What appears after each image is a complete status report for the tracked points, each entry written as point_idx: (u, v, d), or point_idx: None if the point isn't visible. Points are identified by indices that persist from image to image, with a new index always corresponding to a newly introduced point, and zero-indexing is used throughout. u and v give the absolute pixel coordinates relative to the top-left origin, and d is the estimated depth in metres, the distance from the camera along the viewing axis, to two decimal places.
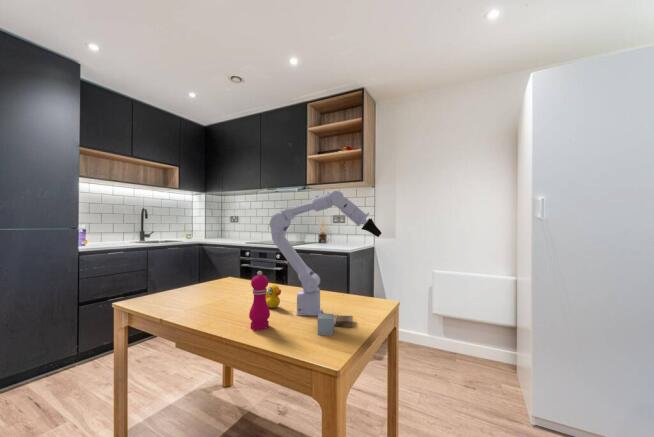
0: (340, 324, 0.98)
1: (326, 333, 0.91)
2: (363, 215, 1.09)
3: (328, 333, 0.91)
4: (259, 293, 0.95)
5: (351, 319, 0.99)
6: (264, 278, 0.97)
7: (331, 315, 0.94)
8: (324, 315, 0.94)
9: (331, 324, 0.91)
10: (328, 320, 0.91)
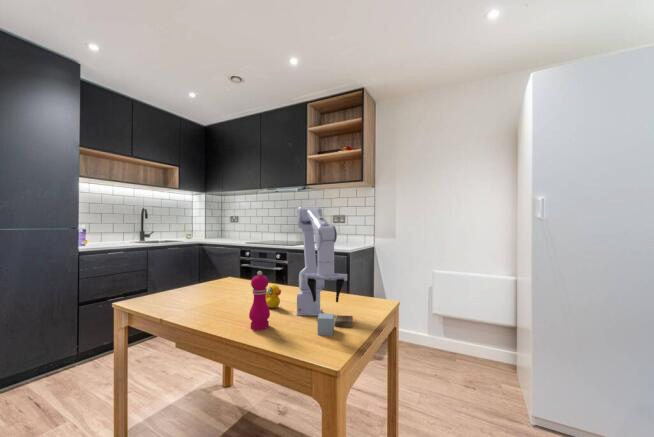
0: (340, 324, 0.98)
1: (326, 333, 0.91)
2: (318, 272, 0.92)
3: (328, 333, 0.91)
4: (259, 293, 0.95)
5: (351, 319, 0.99)
6: (264, 278, 0.97)
7: (331, 315, 0.94)
8: (324, 315, 0.94)
9: (331, 324, 0.91)
10: (328, 320, 0.91)
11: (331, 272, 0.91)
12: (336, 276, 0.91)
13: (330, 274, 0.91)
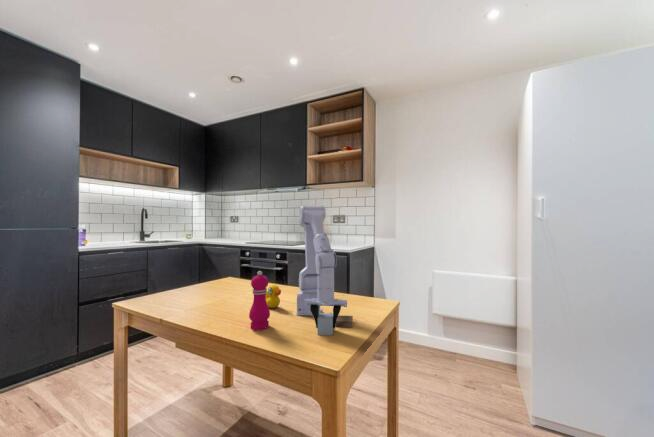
0: (340, 324, 0.98)
1: (326, 333, 0.91)
2: (318, 299, 0.92)
3: (328, 333, 0.91)
4: (259, 293, 0.95)
5: (351, 319, 0.99)
6: (264, 278, 0.97)
7: (331, 315, 0.94)
8: (324, 315, 0.94)
9: (331, 324, 0.91)
10: (328, 320, 0.91)
11: (331, 298, 0.91)
12: (336, 303, 0.91)
13: (330, 301, 0.91)
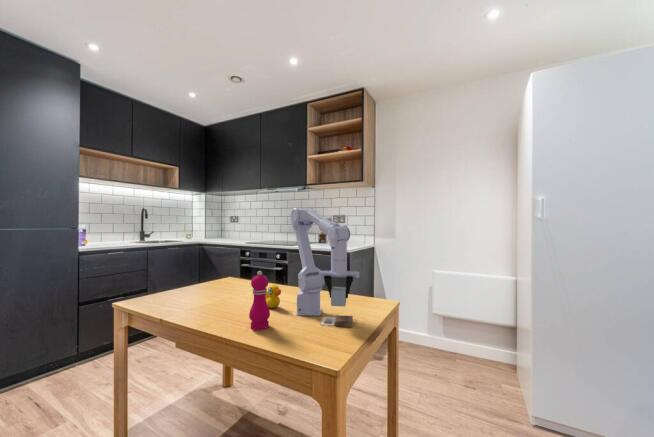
0: (340, 324, 0.98)
1: (339, 304, 0.96)
2: (332, 270, 0.97)
3: (341, 304, 0.96)
4: (259, 293, 0.95)
5: (351, 319, 0.99)
6: (264, 278, 0.97)
7: (344, 288, 0.99)
8: (337, 288, 0.99)
9: (344, 296, 0.95)
10: (341, 292, 0.96)
11: (344, 269, 0.96)
12: (349, 273, 0.96)
13: (343, 271, 0.96)
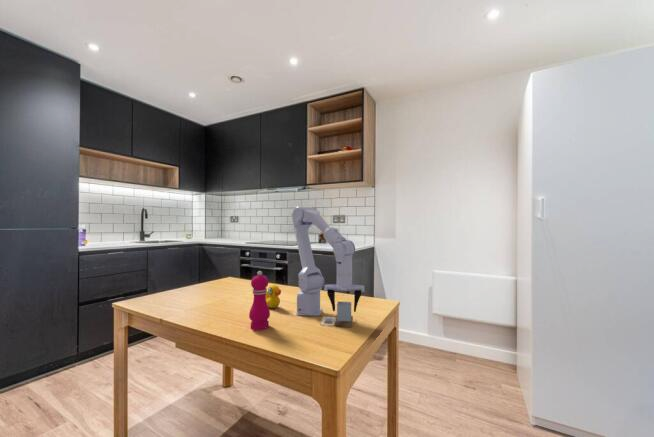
0: (340, 324, 0.98)
1: (345, 319, 0.98)
2: (338, 284, 0.99)
3: (347, 319, 0.98)
4: (259, 293, 0.95)
5: (351, 319, 0.99)
6: (264, 278, 0.97)
7: (349, 303, 1.01)
8: (342, 303, 1.01)
9: (350, 311, 0.98)
10: (347, 307, 0.98)
11: (349, 284, 0.99)
12: (354, 288, 0.98)
13: (349, 286, 0.98)
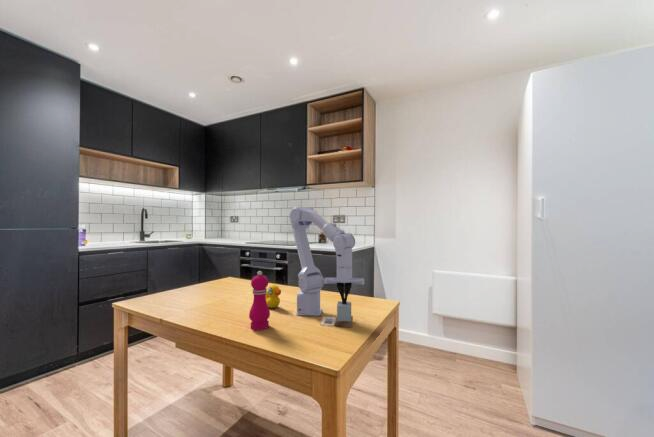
0: (340, 324, 0.98)
1: (345, 319, 0.98)
2: (338, 277, 0.99)
3: (347, 319, 0.98)
4: (259, 293, 0.95)
5: (351, 319, 0.99)
6: (264, 278, 0.97)
7: (349, 303, 1.01)
8: None
9: (350, 311, 0.98)
10: (347, 307, 0.98)
11: (349, 276, 0.99)
12: (354, 280, 0.99)
13: (349, 278, 0.98)
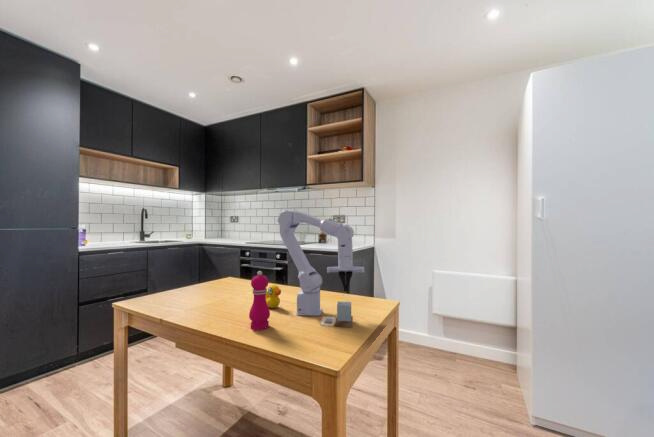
0: (340, 324, 0.98)
1: (345, 319, 0.98)
2: (339, 266, 1.06)
3: (347, 319, 0.98)
4: (259, 293, 0.95)
5: (351, 319, 0.99)
6: (264, 278, 0.97)
7: (349, 303, 1.01)
8: (342, 303, 1.01)
9: (350, 311, 0.98)
10: (347, 307, 0.98)
11: (350, 265, 1.06)
12: (355, 268, 1.05)
13: (349, 267, 1.05)
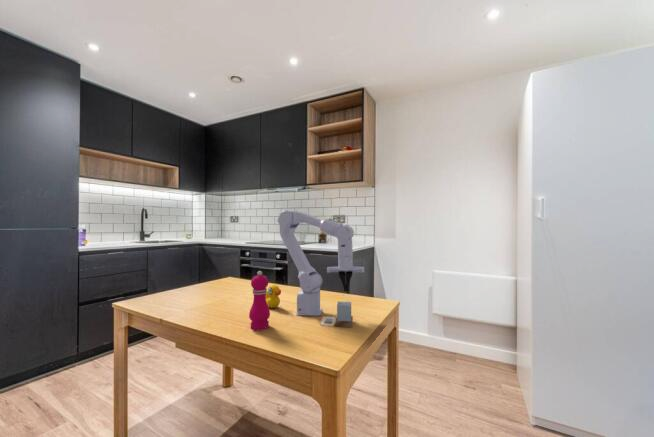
0: (340, 324, 0.98)
1: (345, 319, 0.98)
2: (339, 266, 1.06)
3: (347, 319, 0.98)
4: (259, 293, 0.95)
5: (351, 319, 0.99)
6: (264, 278, 0.97)
7: (349, 303, 1.01)
8: (342, 303, 1.01)
9: (350, 311, 0.98)
10: (347, 307, 0.98)
11: (350, 265, 1.06)
12: (355, 268, 1.05)
13: (349, 267, 1.05)
